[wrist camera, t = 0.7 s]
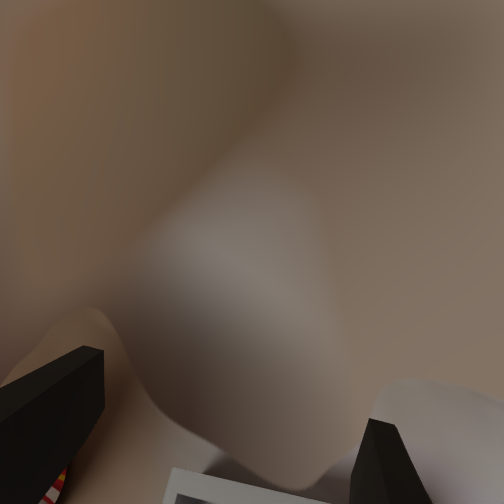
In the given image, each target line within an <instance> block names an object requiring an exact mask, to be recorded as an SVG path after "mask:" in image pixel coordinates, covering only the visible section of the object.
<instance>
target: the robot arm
mask: <svg viewBox="0 0 504 504" xmlns="http://www.w3.org/2000/svg"><path fill="white" fill-rule="evenodd" d="M104 408H105V396H104V350H100V349H96V348H92V347H88V346H84V345H83V346H81V347H79V348H77V349H75V350H73V351H71V352H69V353H67V354H65V355H63V356H61V357H59V358H58V359H56V360H54V361H52V362H50V363H48V364H46V365H44V366H42V367H40V368H39V369H37V370H35V371H33V372H31V373H29V374H27V375H25V376H23V377H21V378H19V379H17V380H15V381H13V382H11V383H9V384H7V385H5V386H3V387H1V388H0V504H39V502H40V501H41V500H42V499H43V497H44V496H45V495H46V493H47V492H48V491H49V489H50V488H51V487H52V485H53V484H54V483H55V481H56V480H57V479H58V477H59V476H60V475H61V473H62V472H63V471H64V469H65V468H66V467H67V465H68V464H69V463H70V461H71V460H72V459H73V457H74V456H75V455H76V453H77V452H78V451H79V449H80V448H81V447H82V445H83V444H84V442H85V441H86V439H87V438H88V436H89V434H90V433H91V431H92V429H93V428H94V426H95V424H96V422H97V420H98V419H99V417H100V415H101V413H102V412H103V410H104ZM349 504H433V503H432V501H431V499H430V498H429V496H428V494H427V492H426V490H425V488H424V486H423V484H422V482H421V480H420V478H419V476H418V474H417V472H416V470H415V467H414V465H413V463H412V461H411V459H410V457H409V455H408V452H407V450H406V448H405V446H404V443H403V441H402V439H401V437H400V434H399V432H398V430H397V428H396V426H395V425H394V424H390V423H386V422H382V421H378V420H374V419H371V418H369V420H368V424H367V427H366V430H365V433H364V436H363V439H362V443H361V446H360V449H359V452H358V455H357V458H356V462H355V465H354V468H353V471H352V474H351V484H350V499H349Z"/></svg>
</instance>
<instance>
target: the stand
mask: <svg viewBox="0 0 504 504" xmlns="http://www.w3.org/2000/svg"><path fill="white" fill-rule="evenodd" d="M162 504H330V503H325V502H321V501H317V500H313V499H308V498H304V497H300V496H295V495H291V494H287V493H282V492H278V491H274V490H269V489H265V488H261V487H256V486H252V485H248V484H243V483H239V482H235V481H230V480H226V479H222V478H217V477H213V476H209V475H205V474H200V473H196V472H192V471H187V470H183V469H179V468H174V467H173V468H172V471H171V475H170V478H169V482H168V485H167V489H166V492H165V496H164V499H163V503H162Z"/></svg>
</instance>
